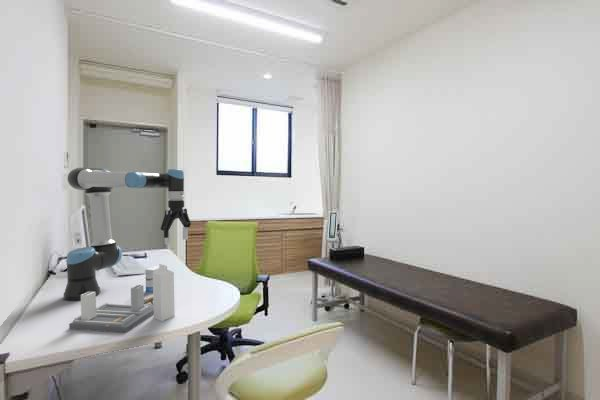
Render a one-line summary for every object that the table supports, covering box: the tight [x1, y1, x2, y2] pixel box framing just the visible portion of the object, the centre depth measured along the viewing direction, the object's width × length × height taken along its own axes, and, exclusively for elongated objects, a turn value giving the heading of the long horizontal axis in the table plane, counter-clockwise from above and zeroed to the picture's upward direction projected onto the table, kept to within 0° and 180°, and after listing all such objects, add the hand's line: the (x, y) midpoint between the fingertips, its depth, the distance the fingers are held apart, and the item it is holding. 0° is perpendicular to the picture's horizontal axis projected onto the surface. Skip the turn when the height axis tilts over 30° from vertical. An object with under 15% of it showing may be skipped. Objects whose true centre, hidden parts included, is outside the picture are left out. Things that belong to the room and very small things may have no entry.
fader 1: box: [80, 291, 97, 320], centre depth 123 cm, size 3×4×10 cm
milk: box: [152, 263, 176, 322], centre depth 130 cm, size 6×6×22 cm
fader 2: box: [130, 284, 145, 312], centre depth 131 cm, size 3×4×10 cm
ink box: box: [144, 265, 159, 293], centre depth 165 cm, size 8×5×12 cm, turn 168°
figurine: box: [144, 296, 153, 306], centre depth 144 cm, size 4×4×15 cm
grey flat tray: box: [68, 302, 154, 333], centre depth 127 cm, size 24×20×3 cm
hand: (176, 241), depth 157 cm, fingers open, 13 cm apart
